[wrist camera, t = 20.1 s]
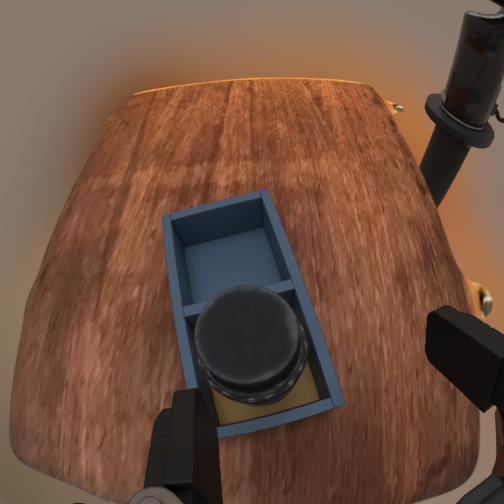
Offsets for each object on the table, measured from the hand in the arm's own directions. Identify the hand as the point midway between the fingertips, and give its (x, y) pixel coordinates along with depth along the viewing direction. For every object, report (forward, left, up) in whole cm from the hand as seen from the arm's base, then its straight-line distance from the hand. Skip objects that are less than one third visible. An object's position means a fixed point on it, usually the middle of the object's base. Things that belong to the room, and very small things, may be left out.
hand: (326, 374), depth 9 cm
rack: (+2, -7, -15) cm, 17 cm away
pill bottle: (+2, -3, -14) cm, 15 cm away
